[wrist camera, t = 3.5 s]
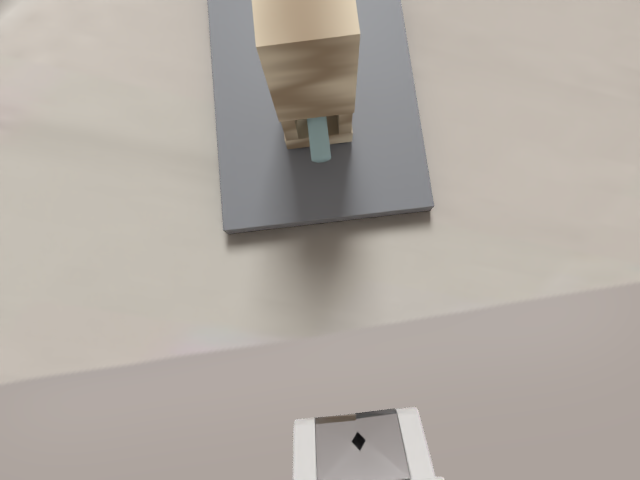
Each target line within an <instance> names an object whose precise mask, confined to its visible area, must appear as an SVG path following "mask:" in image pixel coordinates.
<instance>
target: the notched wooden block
mask: <svg viewBox="0 0 640 480" xmlns="http://www.w3.org/2000/svg"><path fill="white" fill-rule="evenodd" d="M252 10H253V21H254V32H255V43H256V49H257V52H258V55H259V59H260V62H261V65H262V68H263V72H264V75H265V78H266V81H267V85H268V88H269V91H270V94H271V98H272V101H273V104H274V107H275V111H276V114H277V117H278V120H279V122H281V125H282V128H283V131H284V138H285V143H286V146H287V149H295V148H303V147H310V142H309V133H308V124H307V119H309V118H317V117H325V116H326V118H327V127H328V135H329V143H330V144H336V143H345V142H352V138H353V130H352V115H353V113H354V111H355V98H356V85H357V72H358V59H359V45H360V28H359V21H358V13H357V6H356V0H252Z"/></svg>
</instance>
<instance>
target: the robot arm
mask: <svg viewBox="0 0 640 480" xmlns="http://www.w3.org/2000/svg"><path fill="white" fill-rule="evenodd" d="M293 480H445V479H444V478H443V477H436V476H435V472H434V468H433V464H432V460H431V456H430V452H429V448H428V445H427V441H426V437H425V433H424V429H423V425H422V422H421V418H420V414H419V411H418V410H417V408H416V407H408V408H399V409H387V410H379V411H371V412H362V413H355V414H347V415H338V416H328V417H318V418H315V417H314V418H306V419H297V420H295V421H294V427H293Z"/></svg>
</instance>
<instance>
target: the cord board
mask: <svg viewBox="0 0 640 480" xmlns="http://www.w3.org/2000/svg"><path fill="white" fill-rule="evenodd" d="M207 1H208V15H209V30H210V44H211V59H212V73H213V88H214V102H215V116H216V131H217V145H218V160H219V174H220V189H221V203H222V218H223V231H225V232H226V233H227V234H232V233H241V232H249V231H258V230H266V229H275V228H284V227H292V226H301V225H309V224H318V223H327V222H335V221H344V220H352V219H361V218H370V217H378V216H387V215H395V214H404V213H413V212H421V211H430V210H431V209H432V208H433V207H434V202H433V196H432V190H431V184H430V178H429V171H428V165H427V159H426V153H425V147H424V141H423V135H422V129H421V122H420V116H419V110H418V104H417V98H416V92H415V86H414V79H413V73H412V67H411V61H410V55H409V49H408V43H407V37H406V30H405V24H404V18H403V12H402V6H401V0H356V6H357V13H358V21H359V28H360V45H359V59H358V72H357V85H356V98H355V111H354V113H353V115H352V130H353V138H352V142H345V143H336V144H330V143H329V135H328V127H327V118H326V116H325V117H317V118H309V119H307V124H308V133H309V142H310V147H303V148H295V149H287V146H286V143H285V138H284V131H283V128H282V125H281V122H279V120H278V117H277V114H276V111H275V107H274V104H273V101H272V98H271V94H270V91H269V88H268V85H267V81H266V78H265V75H264V72H263V68H262V65H261V62H260V59H259V55H258V52H257V49H256V43H255V32H254V21H253V10H252V0H207Z"/></svg>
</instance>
